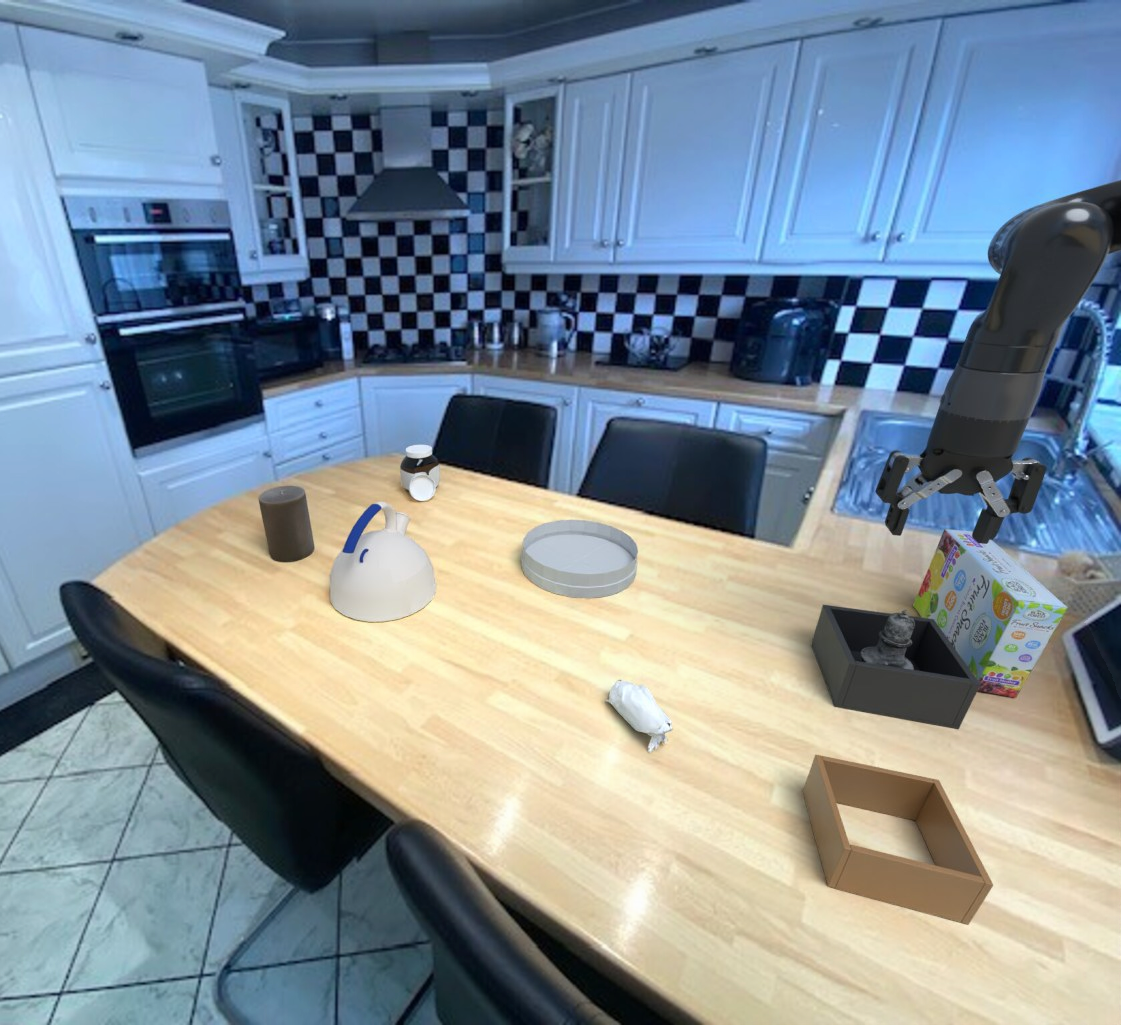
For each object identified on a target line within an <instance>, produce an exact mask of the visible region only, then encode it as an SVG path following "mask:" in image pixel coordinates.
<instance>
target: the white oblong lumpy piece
mask: <svg viewBox="0 0 1121 1025" xmlns="http://www.w3.org/2000/svg"><path fill="white" fill-rule="evenodd" d="M608 695H609V696H608V697H609V698H608V699H605V702H607V703H609V704H611V706H612V707H613V708H614V709H615V710H616V711H617V712H618V714H619V715H620V716H621V717H622V718H623V719H624V720H625V721H626V723H628V724H629V725H630V727H631V728H633V730H635V731H636V732H639V733H643V734H647V735H649V736H651V738H650V741H649V743H648V745H647V749H648V750H647V752H648V753H653V750H655V751H657V750H658V747H659V746H660V743H662V744H663V746H667V745H668V744H667V743H666V742H668V736H667V734H666V733H669V734H670V733H671V731H673V729H674V728H673V727H672V719H670V718H669V716H668V715H667V714H666V713H665V711H664V710H662V708H661V707H660V706H659V705H658V704H657V701H656V699H655V698H654V695H653V693H652V692H651V690H650V689H649V688H648V687H647V686H645V685H643V684H640V685H636V684H635V683H634V682H629V681H627V680H626V681H625V680H619V681H615V682H614V684H613V685H612V687H611V689H610V690H609V694H608ZM654 748H655V749H654Z"/></svg>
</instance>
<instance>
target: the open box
mask: <svg viewBox="0 0 1121 1025" xmlns="http://www.w3.org/2000/svg"><path fill="white" fill-rule="evenodd" d="M891 614H892V613H891V612H890V613H889V612H882V611H874V610H867V609H861V608H860V609H859V608H852V607H844V606H836V605H829V604H822V606H821V610H820V613H819V617H818V620H817V623H816V626H815V629H814V633H813V636H812V640H811V643H810V646H811V648H812V651H813V653H814V656H815V659H816V661H817V664H818V666H819V669H820V671H821V675H822V678H823V680H824V682H825V685H826V688H827V691H828V693H829V696H830V698H831V701H832V704H833V706H834V707H835V708H840V709H846V710H852V711H856V712H863V713H867V714H873V715H878V716H885V717H890V718H895V719H901V720H906V721H911V722H917V723H923V724H929V725H933V726H939V727H946V728H950V729H956V730H960V728H961V726H962V723H963V721H964V720H965V718H966V715H967V713H968V712H969V709H970V706H971V705H972V703H973V701H974V699H975V697H976V695H977V693H978V692H979V691H978V689H979V686H980V683H979V681H978V680H977V679H976V677H975V676H974V674H973V673H972V672H971V670H970V669H969V668H968V666H967V665H966V663H965V662H964V661H963V659H962V658H961V656H960V655H959V654H958V652H957V651H956V650H955V648H954V647H953V645H952V644H951V643H950V641H949V640H948V638H947V637H946V636H945V634H944V633H943V632H942V630H941V629H940V627H939V626H938V625H937V623H936V622H935V620H934V619H928V618H922V617H921V616H913V615H909V616H910V617H911V618H912V619H913V620H914V622H915V627H914V629H913V632H912V635H911V637H910V640H911V641H912V645H911V646H909V647H907V649H906V652H905V655H904V657H906V658H907V659H908V660H909V661H910V662H911V663H912V665H913V668H914V669H913V670H911V669H904V668H898V667H892V666H885V665H879V664H873V663H866V662H862V657H861V651H862V649H864V648H866V647H876V646H877V645H878V642H879V639H880V637H879V632H880V631H881V630H884V628H885V625H886V622H887V620H888V617H889V616H890V615H891Z"/></svg>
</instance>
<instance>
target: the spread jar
mask: <svg viewBox="0 0 1121 1025" xmlns="http://www.w3.org/2000/svg"><path fill="white" fill-rule="evenodd" d="M405 455H406V456H404V457H403V459H402V461H401V463H400V467H399V473H400V483H401V486H402V488H403V489H404V490H405V491H406V492H407V493H408V494H410V496H411V497H412V498H413V499H414V500H416V501H419V502H426V501H429V500H430V499H432V498H433V496H434V495H435V493H436V490H437V488H438V487H439V485H440V482H441V466H440V462H439V459H438V458H437V457H436V456H435V455H434V454H433V448H432V446H431V445H428V444H413V445H409V446H408V447H406V448H405Z"/></svg>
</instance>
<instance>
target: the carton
mask: <svg viewBox="0 0 1121 1025" xmlns="http://www.w3.org/2000/svg"><path fill="white" fill-rule="evenodd" d="M802 794H803V797H804V801H805V804H806V809H807V812H808V817H809V821H810V824H811V828H812V832H813V835H814V839H815V843H816V848H817V850H818V855H819V858H820V861H821V865H822V868H823V873H824V876H825V880H826V885H827V887H828V888H832V889H835V890H839V891H843V892H847V893H849V894H854V895H858V896H861V897H864V898H868V899H872V900H876V901H880V902H883V903H887V904H891V905H895V906H898V907H901V908H906V909H910V910H912V911H916V912H920V913H925V914H928V915H930V916H931V915H932V916H935V917H938V918H943V919H946V920H950V921H954V922H958V923H962V924H964V925H970V924H971V922H972V920H973V919H974V917H975V916H976V914H977V912H978V911H979V909H980V908H981V906H982V904H983V903H984V901H985V900H986V898H987V897H988V895H989V893H990V892H991V890H992V889H993V887H994V883H993V881H992V879H991V877H990V876H989V873H988V872H987V870H986V868H985V866H984V864H983V861H982V859H981V858H980V857H979V855H978V853H977V851H976V848H975V846H974V845H973V843H972V841H971V839H970V837H969V835H968V834H967V832H966V829H965V827H964V826H963V824H962V822H961V819H960V818H959V816H958V813H957V811H956V810H955V808H954V806H953V804H952V802H951V800H950V799H949V797H948V795H947V793H946V791H945V789H944V787H943V785H942V783H941V781H940V780H939V779H937V778H931V777H926V776H922V775H917V774H913V773H908V772H902V771H897V770H893V769H888V768H884V767H879V766H875V765H874V766H873V765H869V764H864V763H859V762H854V761H849V760H845V759H839V758H834V757H831V756H827V755H820V754H814V757H813V760H812V762H811V766H810V769H809V771H808V775H807V777H806V780H805V783H804V786H803V789H802ZM838 804H841V805H844V806H845V805H846V806H850V807H854V808H859V809H863V810H866V811H870V812H876V813H880V814H884V815H889V816H893V817H898V818H902V819H905V820H911V821H915V822H916V824H917V826H918V829H919V830H920V833H921V835H922V838H923V840H924V842H925V844H926V846H927V848H928V852H929V854H930V855H931V857H932V860H933V862H934V864H931V863H927V862H923V861H920V860H914V859H911V858H907V857H902V856H899V855H894V854H891V853H887V852H882V851H879V850H873V849H870V848H867V847H863V846H859V845H854V844H850V842H849V839H848V835H847V832H846V828H845V826H844V823H843V819H842V817H841V813H840V810H839V808H838Z"/></svg>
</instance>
